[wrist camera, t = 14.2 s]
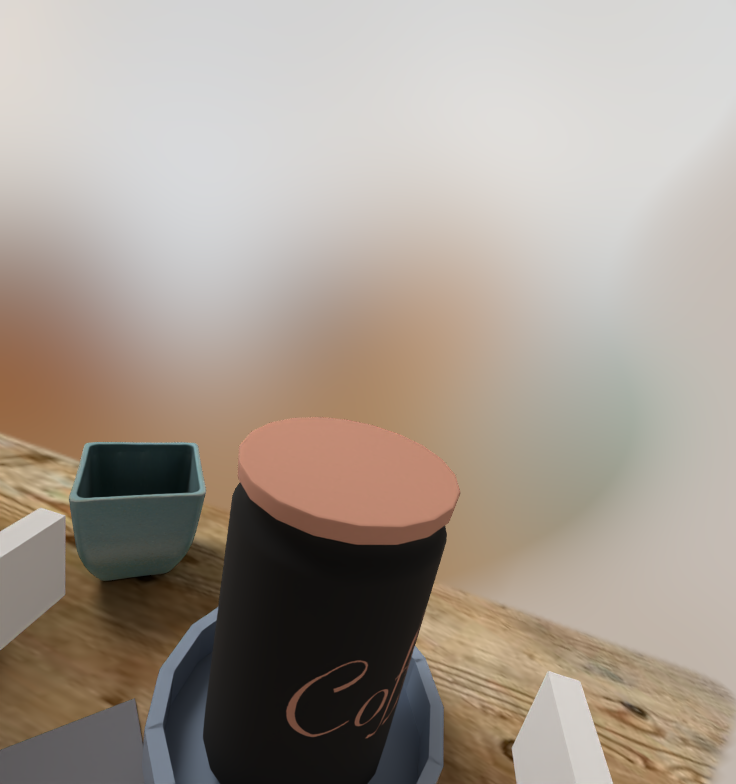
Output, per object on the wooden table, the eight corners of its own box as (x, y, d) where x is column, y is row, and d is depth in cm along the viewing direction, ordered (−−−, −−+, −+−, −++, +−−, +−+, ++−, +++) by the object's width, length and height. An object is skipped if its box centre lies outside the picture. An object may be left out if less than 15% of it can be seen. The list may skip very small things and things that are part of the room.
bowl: (123, 670, 28) (126, 628, 27) (340, 595, 38) (348, 563, 37) (187, 1061, 15) (196, 1010, 14) (486, 796, 25) (503, 755, 24)
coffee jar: (257, 904, 19) (329, 562, 14) (172, 700, 26) (198, 426, 21) (418, 752, 26) (504, 491, 21) (316, 626, 33) (362, 409, 28)
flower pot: (196, 588, 35) (207, 492, 33) (66, 607, 31) (67, 500, 29) (189, 523, 43) (197, 441, 40) (83, 532, 39) (84, 441, 36)
